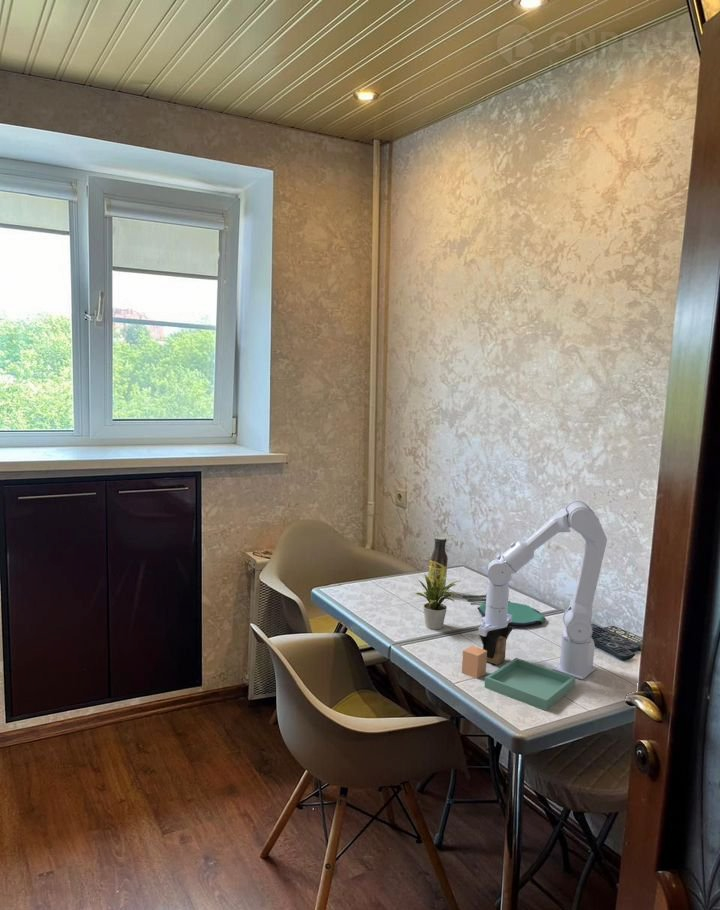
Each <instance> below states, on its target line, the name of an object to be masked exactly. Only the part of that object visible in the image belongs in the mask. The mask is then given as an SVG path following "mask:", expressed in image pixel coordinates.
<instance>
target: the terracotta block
mask: <svg viewBox="0 0 720 910" xmlns="http://www.w3.org/2000/svg"><path fill="white" fill-rule="evenodd" d="M461 660H462V663H461V674H464V675H465V676H469V677H472V678H474V679H479V678H480V677H482V676H484V675H485V674H486V673H487V661H486V660H487V651H486V650H483V648H480V647H477V646H474V645H470V646H469V647H467V648H465V649H463V650H462V659H461Z"/></svg>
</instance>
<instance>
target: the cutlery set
mask: <svg viewBox="0 0 720 910" xmlns="http://www.w3.org/2000/svg"><path fill="white" fill-rule="evenodd" d="M462 598H463V599H466V601H467V602H468V601H470V606H471V605H474V604H480V605H479V606H478V607H477V609H478V612H479V613H480V615H481V616H483V617H485V612H486V594H481V595H480V594H479V595H472V594H471V595H470V594H464V595H462ZM472 601H480V602H472ZM507 614H510V615H512V622H511V623H508V625H510V626H513V625H514V626H528V625H529V626H530V625H535V624H537V623H540V622H541V623H542V624H544V623H545V621H546V616H545V615H544V614H542V612H540V611H539V610H537V609H536V608H534V607H531V606H530V605H527V604H523V603H518V602H515V601H514V602H512V601H511V600H508V613H507Z"/></svg>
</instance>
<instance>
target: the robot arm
mask: <svg viewBox="0 0 720 910" xmlns="http://www.w3.org/2000/svg"><path fill="white" fill-rule="evenodd" d="M571 528H572V530H574V531H575V532H576V533H579V534H580V535H581V537H582V538H583V539H584V542H585V544H584V546H583V547H584V548H583V553H582V557H581V561H580V565H579V570H578V574H577V579H576V584H575V587H574V593H573V597H572V599H571V600H570V603H569V606H568V608H567V609H566V610H565V611H564V613H563V615H562V616H563V617H562V620H563V623H564V625H565V629H564V630H563V632H562V633H561V642H560V653H559V663H558V664H556V666H553V669H552V670H554V671H557V672H560V673H563V674H566V675H569V676H572V677H575V679H580V680H584V679H586V678H587V677H589V675H590V674H591V673H592V672H594V671H595V670H596V669H597V666H596V665H594V658H595V657H594V655H595V645H596V644H595V641H594V639H593V638H592V635H593V626H592V617H593V603H594V599H595V594H596V590H597V586H598V582H599V577H600V573H601V568H602V564H603V560H604V554H605V552H606V547H607V543H608V542H607V541H608V539H607V535H606V533H605V531H604V529H603V526H602V524H601V522H600V519H599V517H598V516H597V515H596V513H595V512H594V510H593V509H592V508H591V507H590V506H589V505H588V504H587V503H585V502H584V501H582V500H574V501H571V502H569V504H567V505H566V506H565V507H563V508H561V509H559V511H557V512H556V513H555V514H553V515H552V517H550V518H549V519H548V520H547V521H546V522H545V523H544V524H543V525H542V526H541V527H540V528H538V529H537V530H536V531H535V532H534V533H533V534H532V535H531V536H529V538H527V540H517V541H516V542H515V541H513V542H512V543H510V547H509V548H508V549H507V550H505V552H503V553H502V554H498V555H497V556H496V558H494V559H493V560H491V561H490V562H489V564H488V565H487V568H486V569H487V577H488V580H487V586H486V594H485V595H486V597H485V599H486V600H485V601H486V612H485V617H484V616H483V617H481V619H480V620H481V622H482V623H481V625H480V626H478V630H477V634H478V636H479V638H480V640H481V642H482V648H483V647H484V650H486V651H487V657H488V658H491V659H492V658H493V657H494V654H495V648H496V644H497V641H498V639H499V637H500V636H501V637H505V638H506V641H507V640H508V638H509V636H510V634H511V632H512V630H513V625H510V624H508V623H511V622H512V615H510V614H507V613H508V601H509V596H510V595H509V593H510V589H509V582H511V579H512V575H513V574H515V573H517V572H519V571H520V570H521V569H522V568H524V566H526V565H527V564H528V563H529V562H531V561H532V560H533V559H534V557H535V551H536V550H538V549H539V548H540V547H542V546H543V545H544V544H545V543H546V542H548V541H549V540H550V539H552V538H553V537H555V536H556V535H557V534H559V533H571Z"/></svg>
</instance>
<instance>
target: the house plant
mask: <svg viewBox="0 0 720 910" xmlns="http://www.w3.org/2000/svg"><path fill="white" fill-rule="evenodd" d="M423 575H424V578H425V582H426V585H425V584H424V582H422V580H419V579H417V580H418V583H420V585H421V586H422V587H423V588H424V589H425V591H424V592H423V593H424V594H423V593H422V592H415V595H418V596H421V597H423V598H425V599H426V600H427V601H428V602H426V603H424V604H423V607H422V608H423V616H424V624H425V627H426V628H427V629H430V630H437V631H438V630H441V629H443V627H444V623H445V618H446V614H447V609H448V607H447V605H446V604H444V603H446V601H444V600H448V601H449V600H450V601H452V602H454V603H456V602H455V599H454V598H451V597H454V595H452V594H453V593H454V591H451V592H450V588H452V587H457V583H458V582H460V580H456V581H453V582H450V583H449V584H448V585H446V586H445V587H444V588H442V587H443V585H444V583H445V579H446V580H447V575H446V576H445V577H444V574H443V576H442V578H441V580H440V581H439V583H438V586H437V583H436V579H435V576H434V574H433V578H434V583H433V582H432V581H430V580H429V578H428V576H427V575H428V574H425V573H424V574H423ZM431 582H432V584H433V587H432V585H431ZM443 589H444V590H443ZM442 590H443V591H442ZM441 591H442V592H441ZM444 591H445V592H444ZM448 591H449V592H448ZM440 592H441V593H440Z"/></svg>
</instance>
